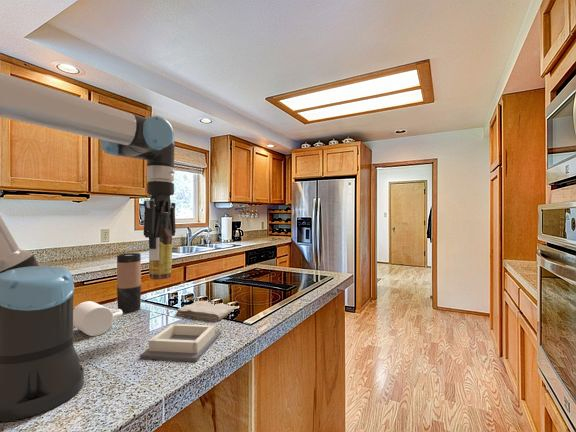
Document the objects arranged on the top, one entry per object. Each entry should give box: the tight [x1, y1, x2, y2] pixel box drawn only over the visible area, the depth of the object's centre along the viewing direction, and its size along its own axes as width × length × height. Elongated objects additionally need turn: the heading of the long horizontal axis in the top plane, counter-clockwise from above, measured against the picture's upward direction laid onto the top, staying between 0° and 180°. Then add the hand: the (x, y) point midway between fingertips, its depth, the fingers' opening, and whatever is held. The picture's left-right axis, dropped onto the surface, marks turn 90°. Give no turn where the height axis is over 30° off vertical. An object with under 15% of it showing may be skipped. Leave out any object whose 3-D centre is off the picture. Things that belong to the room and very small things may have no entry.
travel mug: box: [116, 252, 142, 314], centre depth 108 cm, size 8×8×20 cm
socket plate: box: [139, 323, 222, 362], centre depth 78 cm, size 16×14×3 cm
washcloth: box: [175, 300, 237, 322], centre depth 104 cm, size 12×18×3 cm, turn 69°
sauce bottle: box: [148, 212, 173, 281], centre depth 90 cm, size 7×6×20 cm
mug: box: [73, 300, 124, 337], centre depth 90 cm, size 12×10×8 cm
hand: (160, 258), depth 90 cm, fingers closed on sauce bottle, 6 cm apart
